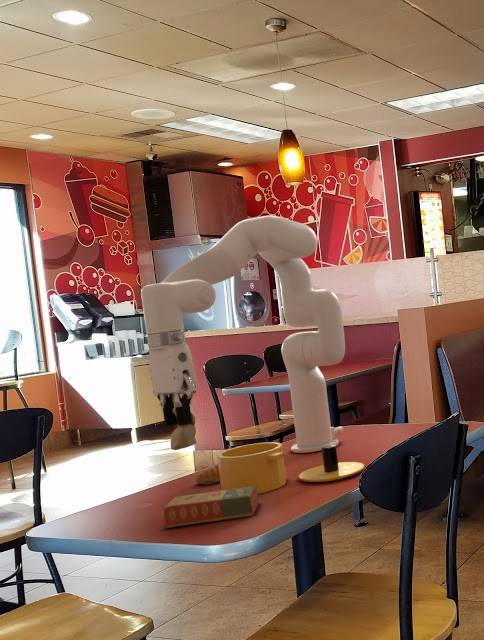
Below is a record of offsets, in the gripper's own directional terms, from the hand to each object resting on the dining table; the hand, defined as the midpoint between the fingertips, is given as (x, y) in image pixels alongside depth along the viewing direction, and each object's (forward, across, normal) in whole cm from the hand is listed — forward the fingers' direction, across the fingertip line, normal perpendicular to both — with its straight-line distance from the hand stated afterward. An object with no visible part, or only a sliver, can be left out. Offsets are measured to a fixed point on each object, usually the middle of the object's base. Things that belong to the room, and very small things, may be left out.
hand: (178, 423), depth 161 cm
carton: (+17, -19, +8) cm, 26 cm away
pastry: (+17, +7, -13) cm, 23 cm away
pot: (+17, -9, -10) cm, 22 cm away
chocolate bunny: (+5, -1, 0) cm, 5 cm away
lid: (+16, -21, -22) cm, 35 cm away
